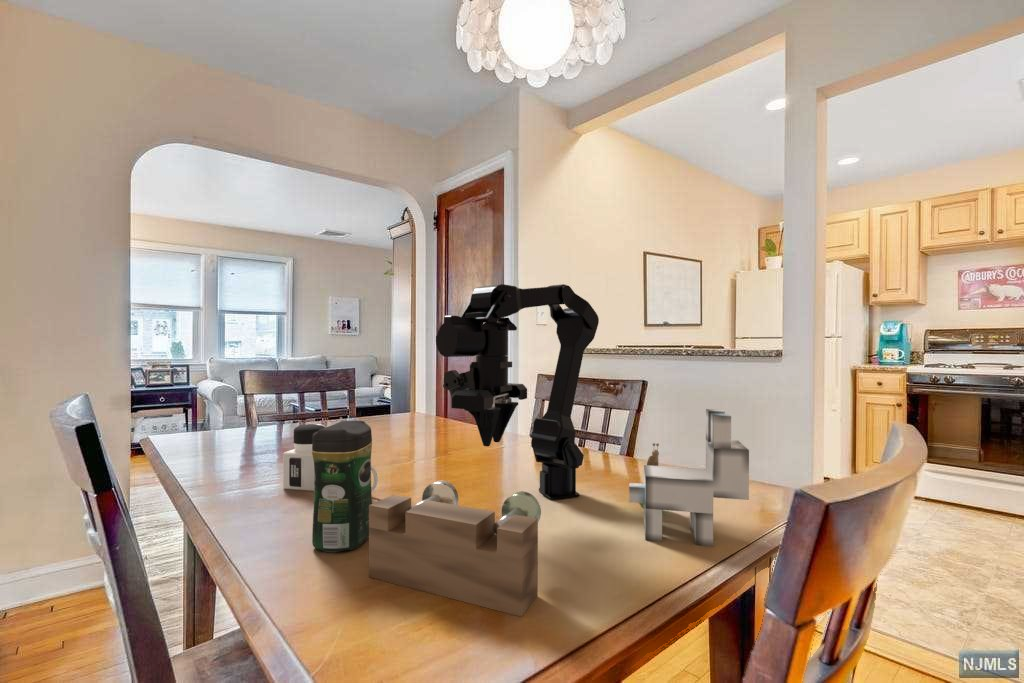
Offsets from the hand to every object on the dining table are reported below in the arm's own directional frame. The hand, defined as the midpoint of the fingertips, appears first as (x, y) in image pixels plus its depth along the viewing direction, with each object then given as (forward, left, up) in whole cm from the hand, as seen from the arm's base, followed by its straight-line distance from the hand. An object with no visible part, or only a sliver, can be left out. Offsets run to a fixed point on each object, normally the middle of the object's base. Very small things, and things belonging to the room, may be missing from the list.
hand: (491, 444), depth 87 cm
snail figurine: (-29, +7, -13) cm, 33 cm away
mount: (+13, +22, -13) cm, 28 cm away
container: (+31, -32, -13) cm, 46 cm away
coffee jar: (+25, +2, -13) cm, 28 cm away
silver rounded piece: (+14, +13, -8) cm, 21 cm away
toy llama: (-27, +18, -13) cm, 35 cm away
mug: (+23, -22, -13) cm, 34 cm away
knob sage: (+4, +23, -8) cm, 24 cm away
